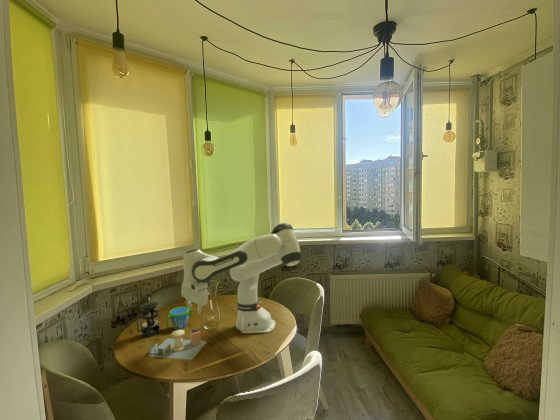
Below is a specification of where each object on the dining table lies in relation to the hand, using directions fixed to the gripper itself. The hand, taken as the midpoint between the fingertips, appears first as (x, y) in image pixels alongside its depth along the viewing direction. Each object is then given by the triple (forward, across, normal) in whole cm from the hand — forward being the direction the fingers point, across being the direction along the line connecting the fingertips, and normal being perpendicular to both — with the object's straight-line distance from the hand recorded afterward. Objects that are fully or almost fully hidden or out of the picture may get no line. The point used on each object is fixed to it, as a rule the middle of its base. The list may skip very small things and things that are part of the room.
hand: (194, 309), depth 140 cm
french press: (+19, -28, -12) cm, 36 cm away
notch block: (+17, -5, -16) cm, 24 cm away
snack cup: (+19, -24, +4) cm, 31 cm away
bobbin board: (+18, -2, -8) cm, 20 cm away
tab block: (+17, 0, 0) cm, 17 cm away
